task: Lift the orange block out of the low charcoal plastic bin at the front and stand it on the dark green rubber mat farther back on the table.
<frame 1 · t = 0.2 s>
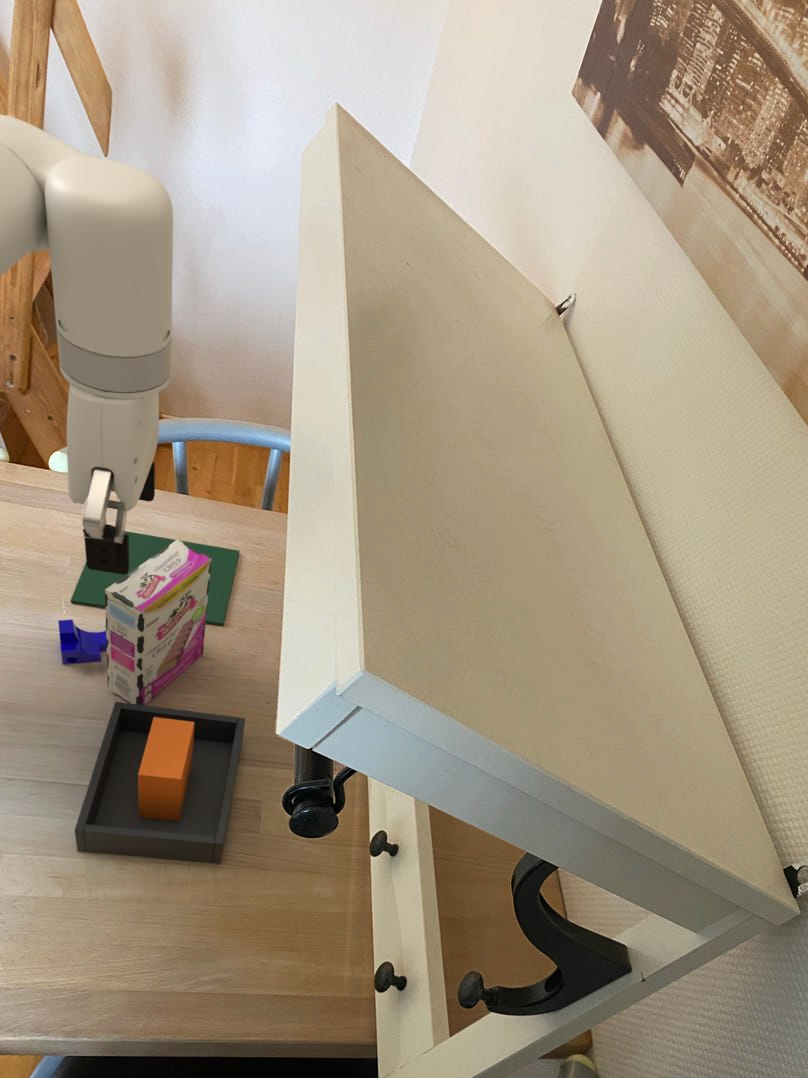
hand: (122, 531, 73), 29 cm above the table, tool pointing down, fingers open, 9 cm apart
cable holder: (99, 652, 100), on the table
mat: (160, 576, 110), on the table
orange block: (166, 790, 89), resting on bin
candy bar box: (158, 674, 100), on the table
bin: (166, 792, 90), on the table
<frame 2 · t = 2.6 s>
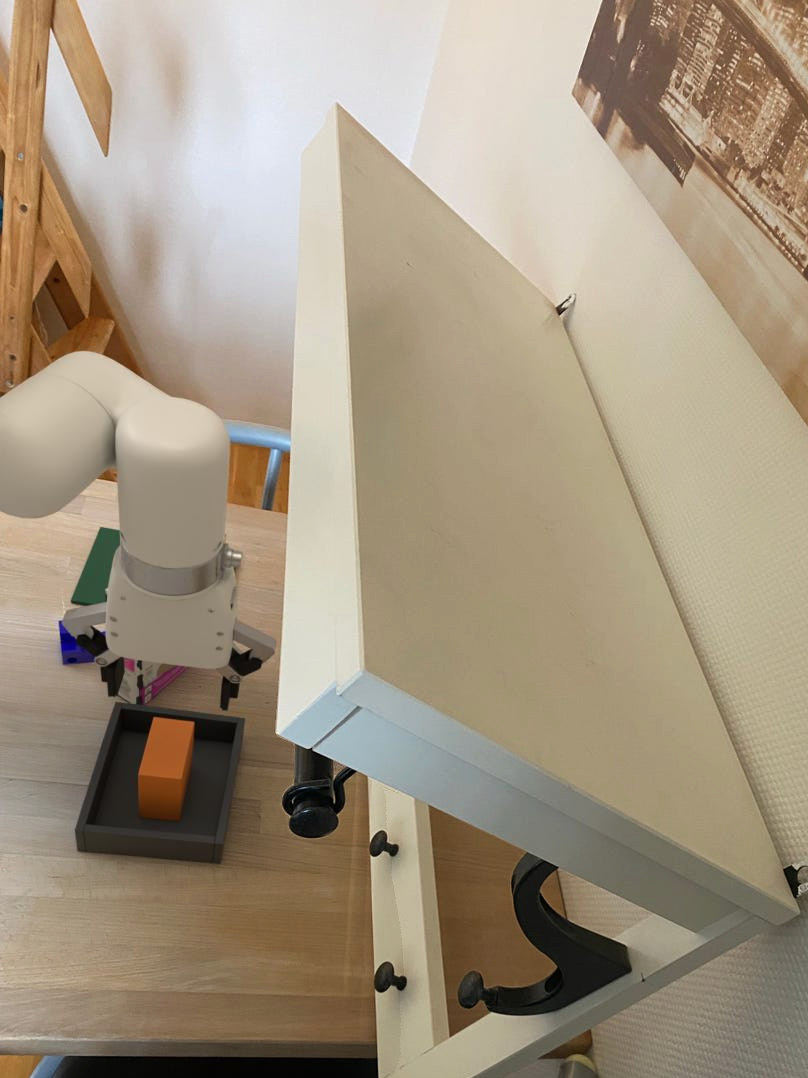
hand: (172, 691, 78), 17 cm above the table, tool pointing down, fingers open, 9 cm apart
nothing on the table moved.
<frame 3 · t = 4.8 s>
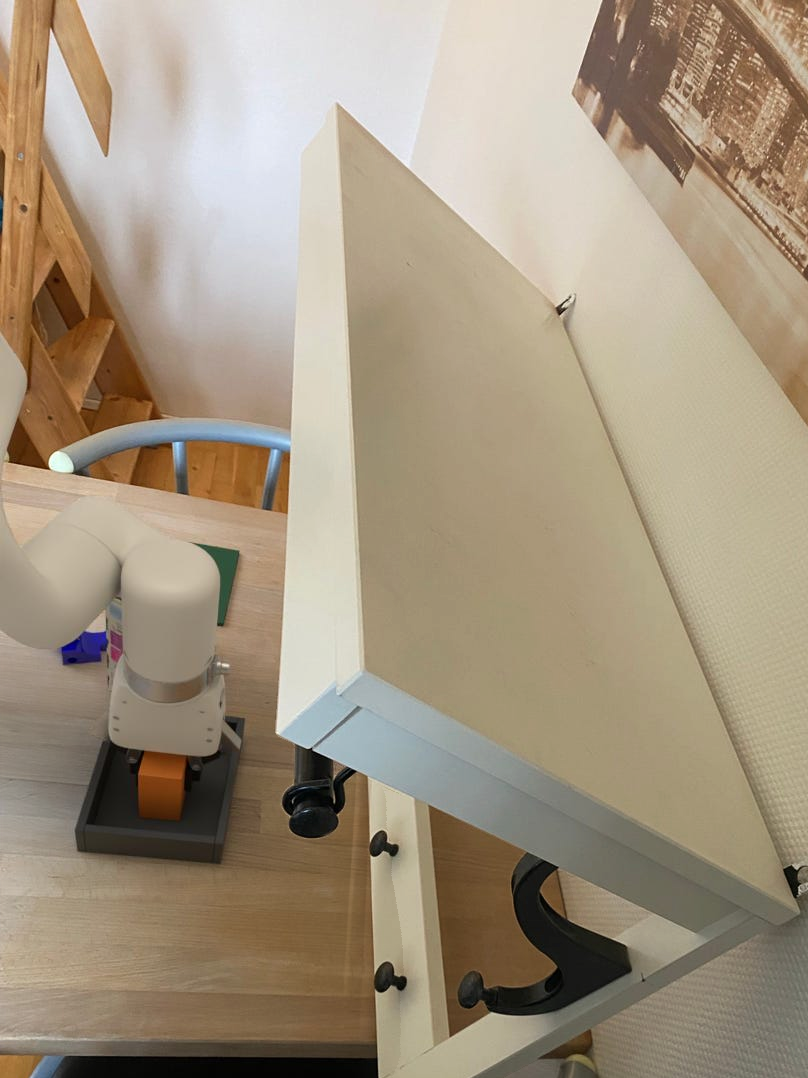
hand: (166, 776, 88), 3 cm above the table, tool pointing down, fingers closed on orange block, 4 cm apart
orange block: (166, 790, 89), resting on bin, touching gripper
everything else where it was.
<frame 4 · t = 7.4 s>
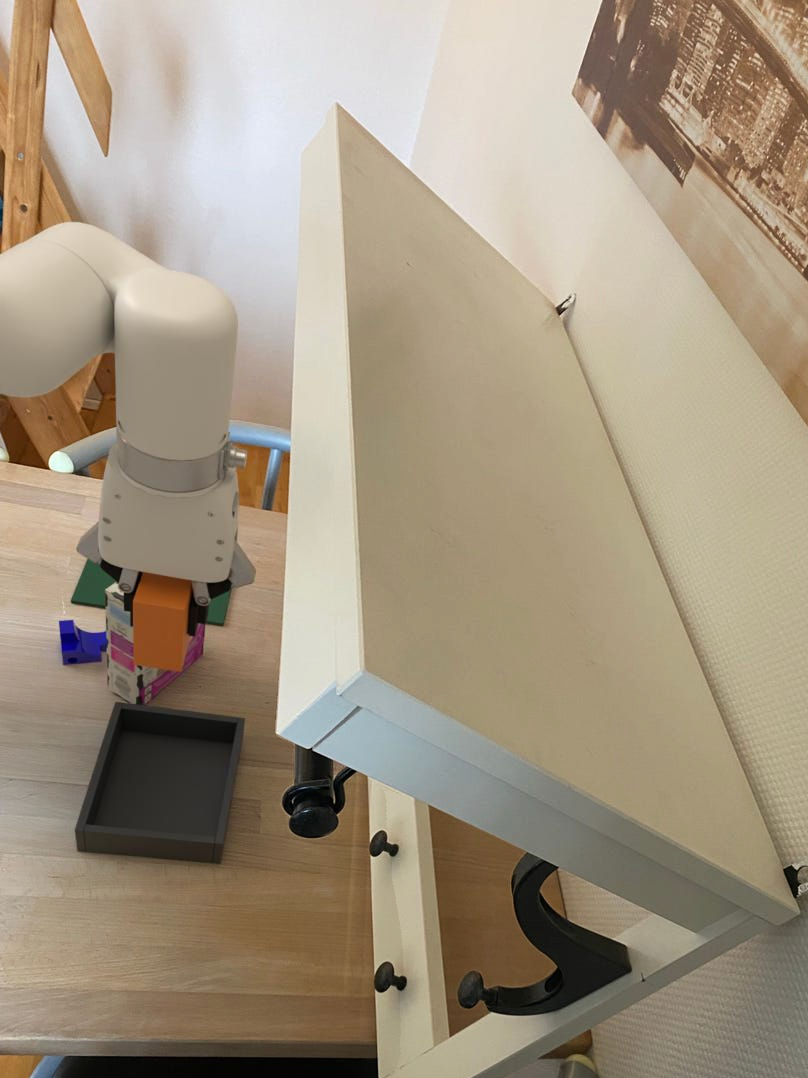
hand: (166, 618, 74), 24 cm above the table, tool pointing down, fingers closed on orange block, 4 cm apart
orange block: (166, 639, 76), point 22 cm above the table, touching gripper
everything else where it was.
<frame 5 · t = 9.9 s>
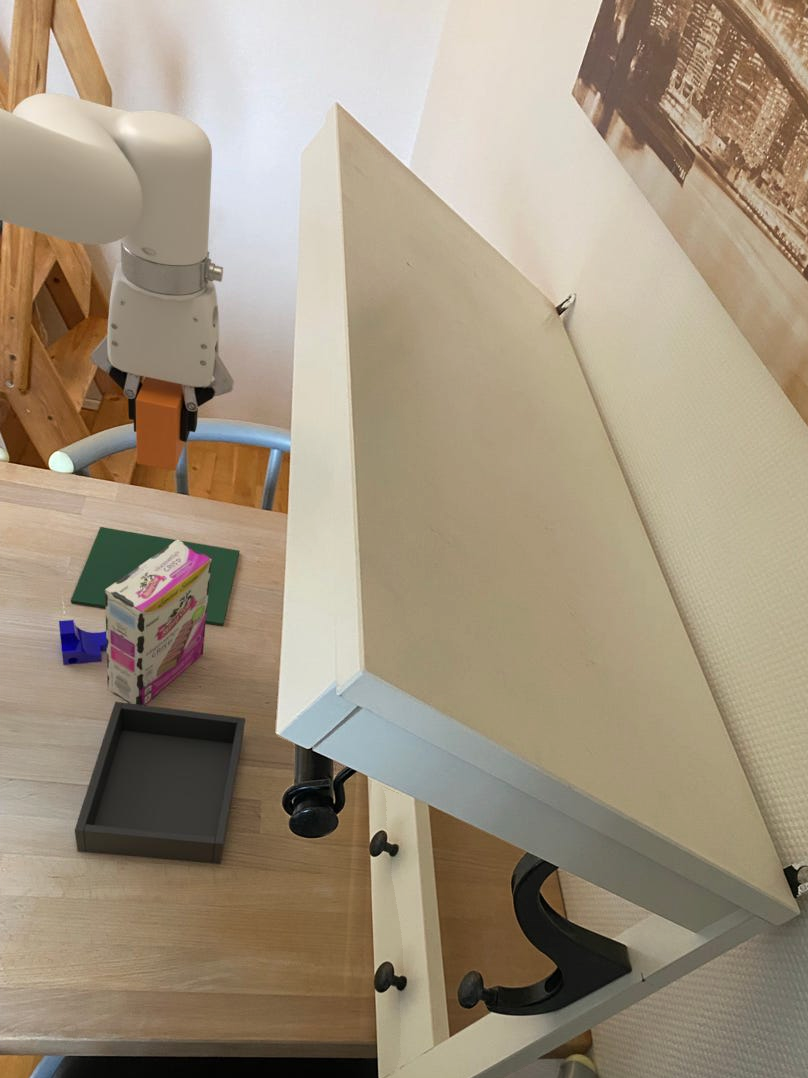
hand: (163, 428, 92), 24 cm above the table, tool pointing down, fingers closed on orange block, 4 cm apart
orange block: (163, 448, 94), point 22 cm above the table, touching gripper
everything else where it was.
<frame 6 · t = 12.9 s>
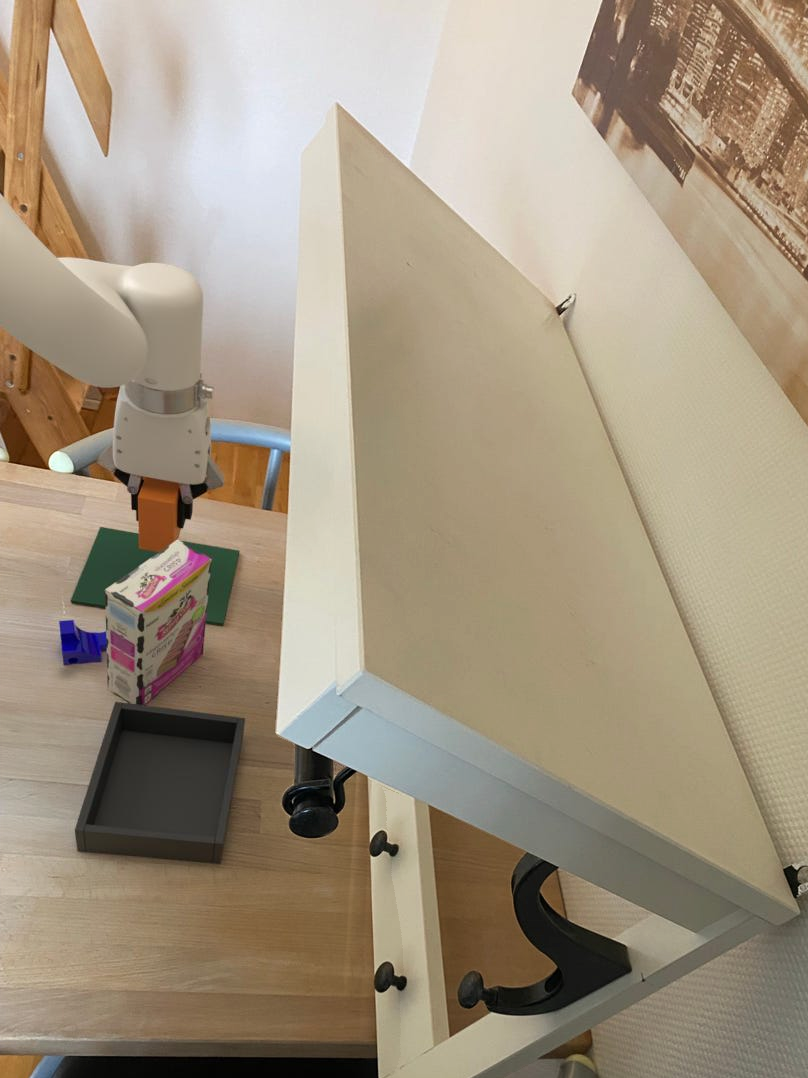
hand: (162, 516, 103), 10 cm above the table, tool pointing down, fingers closed on orange block, 4 cm apart
orange block: (162, 533, 105), point 7 cm above the table, touching gripper
everything else where it was.
when the fingers open (3 cm above the table, at t = 14.9 s): orange block stays where it is, resting on mat.
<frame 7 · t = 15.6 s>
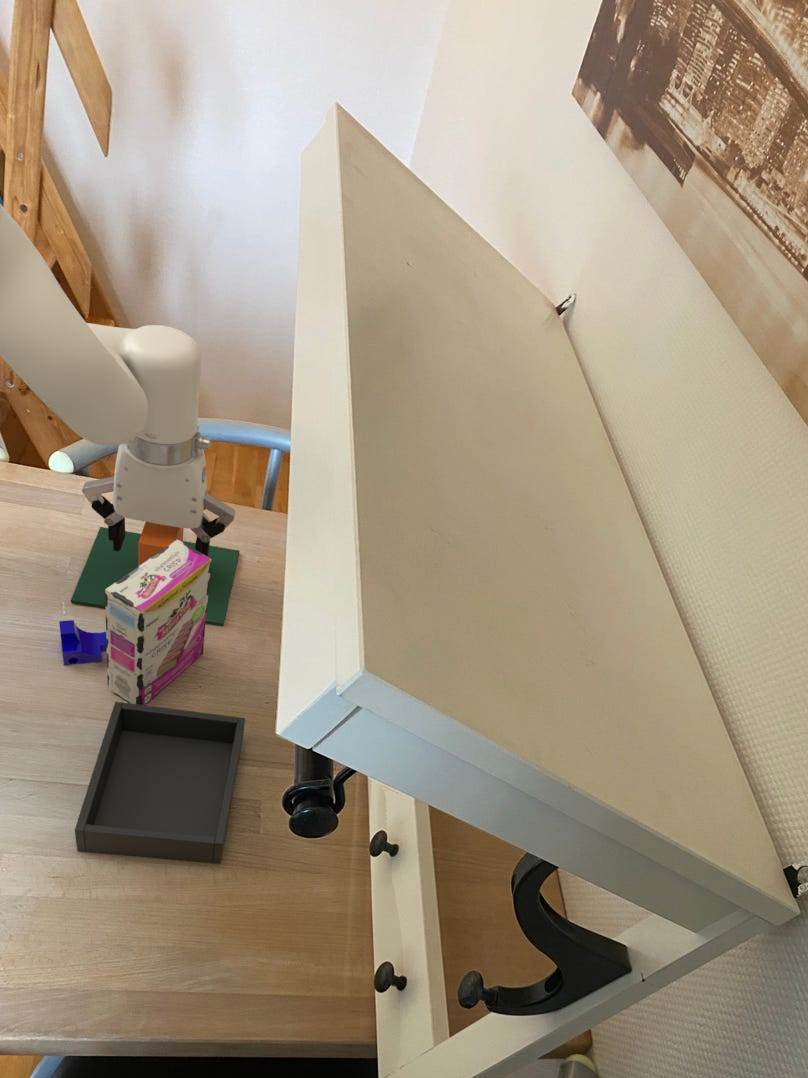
hand: (159, 551, 107), 5 cm above the table, tool pointing down, fingers open, 9 cm apart
orange block: (161, 573, 110), resting on mat
everything else where it was.
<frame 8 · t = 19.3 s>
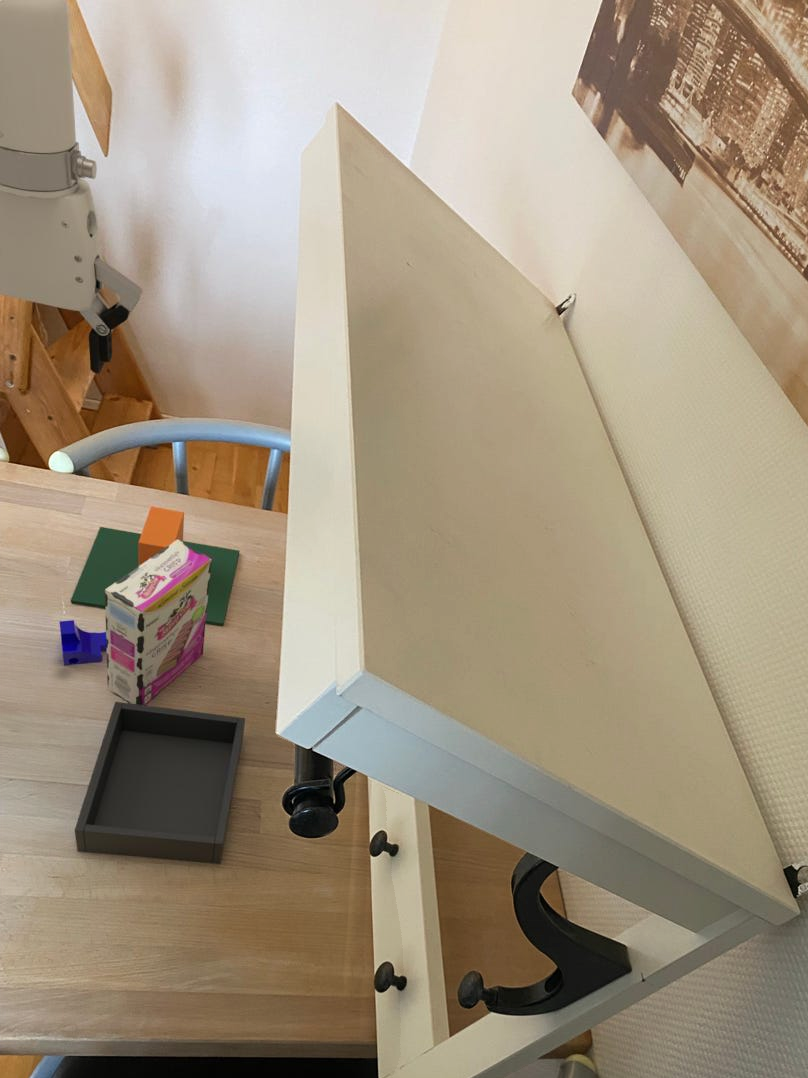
hand: (43, 353, 79), 34 cm above the table, tool pointing down, fingers open, 9 cm apart
nothing on the table moved.
at the end: orange block inside the target area on the mat (0.1 cm from its centre), point 0.5 cm above the mat's base; orange block touching mat; orange block tilted 0° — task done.
